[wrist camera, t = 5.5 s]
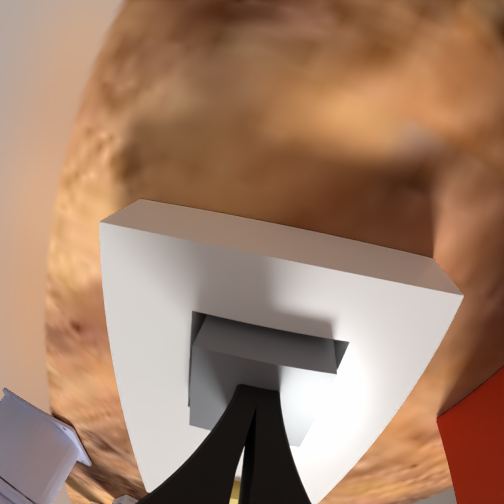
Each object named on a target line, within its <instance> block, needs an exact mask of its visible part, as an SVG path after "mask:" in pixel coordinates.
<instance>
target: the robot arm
mask: <svg viewBox="0 0 504 504" xmlns="http://www.w3.org/2000/svg"><path fill="white" fill-rule="evenodd" d="M3 392H4V394H5V396H4V397H3V398H2V400H1V401H0V504H53V502H54V500H55V498H56V497H57V495H58V493H59V491H60V489H61V487H62V486H63V484H64V482H65V480H66V478H67V477H68V475H69V473H70V471H71V470H72V468H73V466H74V464H75V463H76V461H77V460H78V461H80V462H82V463H84V464H86V465H88V466H91V465H92V463H91V461H90V459H89V457H88V455H87V454H86V452H85V450H84V448H83V446H82V444H81V442H80V440H79V438H78V436H77V434H76V432H75V430H74V429H73V428H72V427H71V426H69V425H68V424H66V423H64V422H62V421H60V420H58V419H56V418H54V417H52V416H51V415H49V414H47V413H45V412H43V411H42V410H40V409H38V408H36V407H35V406H33V405H31V404H30V403H28V402H27V401H25V400H23V399H22V398H20V397H19V396H17V395H15V394H14V393H12V392H11V391H9V390H8V389H6V388H4V389H3ZM243 449H244V455H243V464H242V474H241V483H240V492H239V500H238V504H312V503H311V501H310V499H309V497H308V495H307V493H306V491H305V488H304V486H303V484H302V481H301V479H300V476H299V473H298V471H297V468H296V465H295V462H294V459H293V456H292V452H291V449H290V445H289V442H288V438H287V434H286V430H285V425H284V420H283V415H282V408H281V399H280V393H279V392H278V391H276V390H270V389H265V388H259V387H254V386H249V385H245V384H239V385H237V387H236V390H235V392H234V394H233V396H232V399H231V400H230V402H229V404H228V406H227V408H226V409H225V411H224V413H223V414H222V416H221V417H220V419H219V420H218V422H217V423H216V425H215V426H214V428H213V429H212V430H211V432H210V433H209V434H208V436H207V437H206V438H205V439H204V441H203V442H202V443H201V444H200V445H199V447H198V448H197V449H196V450H195V451H194V453H193V454H192V455H191V456H190V457H189V458H188V459H187V460H186V461H185V462H184V463H183V464H182V465H181V466H180V467H179V468H178V469H177V470H176V471H175V472H174V473H173V474H172V475H171V476H170V477H168V478H167V479H166V480H165V481H164V482H163V483H162V484H161V485H159V486H158V487H157V488H156V489H154V490H153V491H152V492H151V493H149V494H148V495H146V496H145V497H144V498H142V499H141V500H140V501H138V502H137V503H135V504H229V503H230V498H231V493H232V489H233V484H234V479H235V474H236V470H237V467H238V464H239V461H240V458H241V455H242V452H243Z"/></svg>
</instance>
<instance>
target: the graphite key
mask: <svg viewBox="0 0 504 504" xmlns="http://www.w3.org/2000/svg"><path fill="white" fill-rule="evenodd" d="M336 376H337V368H336V358H335V348H334V339H329V338H323V337H317V336H311V335H306V334H300V333H295V332H289V331H284V330H279V329H274V328H269V327H264V326H259V325H254V324H250V323H245V322H240V321H236V320H231V319H227V318H222V317H218V316H213V315H209V314H207V316H206V318H205V320H204V322H203V324H202V327H201V329H200V331H199V333H198V335H197V337H196V340H195V342H194V344H193V347H192V366H191V388H190V418H189V425H191V426H195V427H198V428H202V429H206V430H210V431H211V430H212V429H213V428H214V426H215V425H216V423H217V422H218V420H219V419H220V417H221V416H222V414H223V413H224V411H225V409H226V408H227V406H228V404H229V402H230V400H231V399H232V396H233V394H234V392H235V390H236V387H237V385H239V384H245V385H249V386H254V387H259V388H265V389H270V390H276V391H278V392H279V393H280V399H281V408H282V415H283V420H284V425H285V430H286V434H287V438H288V442H289V445H290V446H296V447H300V445H301V444H302V442H303V440H304V438H305V436H306V435H307V433H308V431H309V429H310V427H311V425H312V424H313V422H314V420H315V418H316V416H317V414H318V412H319V410H320V408H321V406H322V404H323V402H324V400H325V398H326V396H327V394H328V392H329V390H330V388H331V386H332V384H333V382H334V380H335V378H336Z"/></svg>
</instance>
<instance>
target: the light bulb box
mask: <svg viewBox="0 0 504 504" xmlns="http://www.w3.org/2000/svg"><path fill="white" fill-rule="evenodd" d="M138 501H139V500H137V499H135V498H133V497H131V496H129V495H124V496H121V497H119V498H116V499H114V501H113V503H112V504H135V503H137V502H138Z"/></svg>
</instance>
